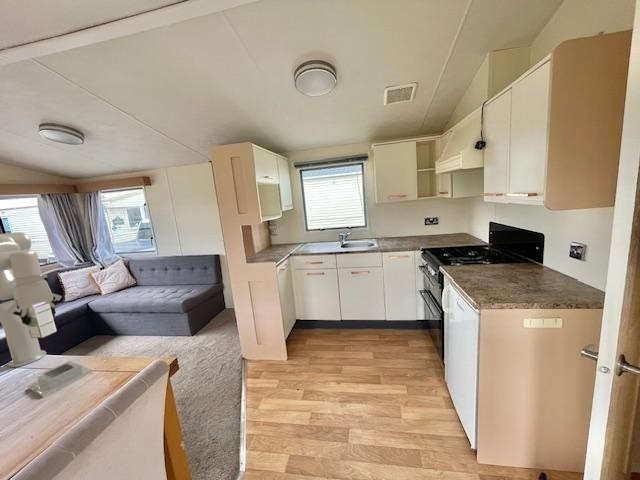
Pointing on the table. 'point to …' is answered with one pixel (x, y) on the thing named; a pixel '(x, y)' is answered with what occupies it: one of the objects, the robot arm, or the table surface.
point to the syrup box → (40, 320)
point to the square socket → (58, 378)
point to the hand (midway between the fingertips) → (40, 320)
